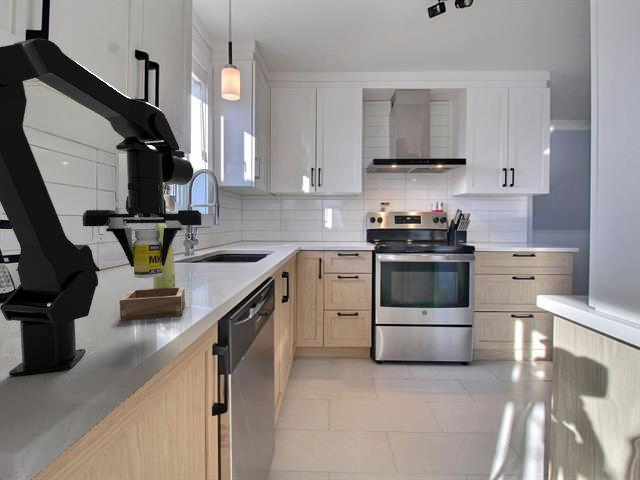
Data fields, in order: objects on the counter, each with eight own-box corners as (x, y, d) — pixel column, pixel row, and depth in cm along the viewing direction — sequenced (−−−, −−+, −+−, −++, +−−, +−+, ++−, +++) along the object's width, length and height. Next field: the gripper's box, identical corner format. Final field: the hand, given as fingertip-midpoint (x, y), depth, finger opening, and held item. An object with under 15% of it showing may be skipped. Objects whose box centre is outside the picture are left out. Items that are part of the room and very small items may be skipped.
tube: (180, 301, 84) (178, 219, 83) (158, 305, 80) (155, 219, 79) (171, 297, 88) (169, 219, 87) (149, 301, 84) (147, 219, 84)
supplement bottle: (151, 278, 61) (149, 230, 61) (128, 278, 62) (126, 230, 62) (168, 274, 66) (167, 229, 66) (146, 274, 67) (144, 230, 66)
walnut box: (181, 315, 71) (181, 296, 71) (120, 320, 68) (119, 300, 67) (184, 303, 81) (184, 286, 81) (132, 307, 78) (131, 289, 78)
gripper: (201, 185, 74) (203, 259, 74) (99, 183, 68) (102, 263, 69) (200, 179, 63) (202, 265, 64) (79, 175, 57) (83, 270, 58)
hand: (148, 266), depth 64 cm, fingers closed on supplement bottle, 5 cm apart
